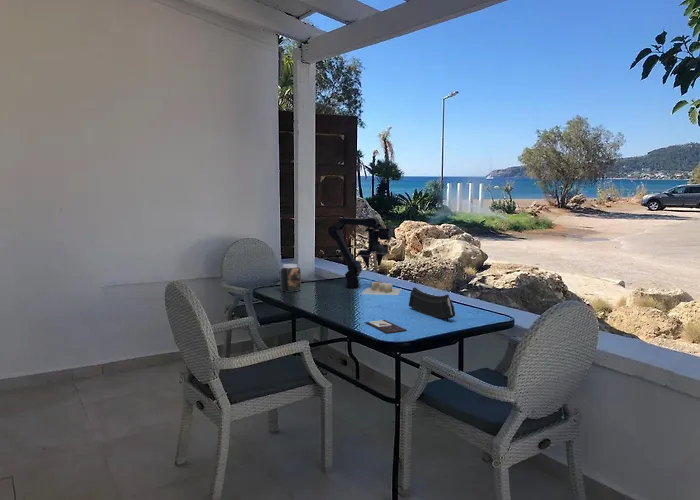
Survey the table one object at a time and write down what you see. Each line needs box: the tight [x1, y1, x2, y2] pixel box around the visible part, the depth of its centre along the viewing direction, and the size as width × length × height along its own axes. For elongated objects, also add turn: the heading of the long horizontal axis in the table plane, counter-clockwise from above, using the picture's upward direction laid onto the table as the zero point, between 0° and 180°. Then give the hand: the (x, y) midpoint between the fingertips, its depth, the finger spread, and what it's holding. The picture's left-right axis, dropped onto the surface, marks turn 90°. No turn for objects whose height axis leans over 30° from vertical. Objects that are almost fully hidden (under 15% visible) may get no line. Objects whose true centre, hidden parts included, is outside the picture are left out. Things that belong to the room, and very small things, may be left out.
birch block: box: [370, 280, 393, 293], centre depth 273 cm, size 4×4×12 cm
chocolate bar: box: [365, 319, 407, 335], centre depth 200 cm, size 9×1×18 cm
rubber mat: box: [361, 287, 402, 296], centre depth 273 cm, size 20×19×1 cm
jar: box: [279, 263, 302, 291], centre depth 280 cm, size 12×12×15 cm
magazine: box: [408, 286, 456, 322], centre depth 220 cm, size 17×3×30 cm
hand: (373, 266), depth 282 cm, fingers open, 9 cm apart
